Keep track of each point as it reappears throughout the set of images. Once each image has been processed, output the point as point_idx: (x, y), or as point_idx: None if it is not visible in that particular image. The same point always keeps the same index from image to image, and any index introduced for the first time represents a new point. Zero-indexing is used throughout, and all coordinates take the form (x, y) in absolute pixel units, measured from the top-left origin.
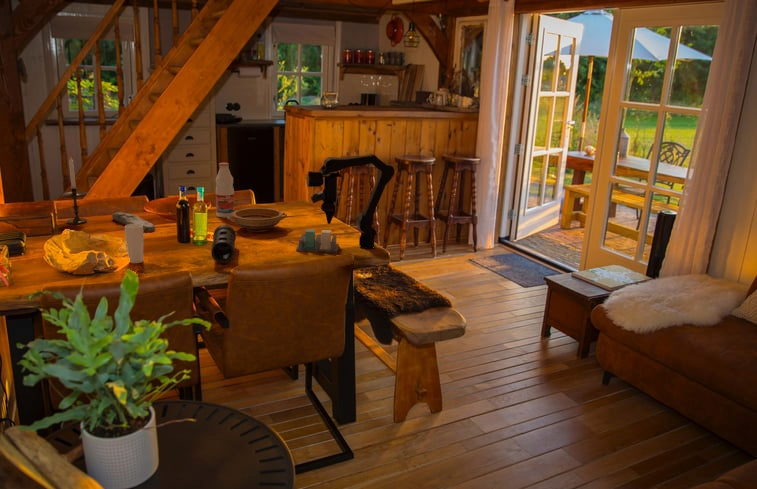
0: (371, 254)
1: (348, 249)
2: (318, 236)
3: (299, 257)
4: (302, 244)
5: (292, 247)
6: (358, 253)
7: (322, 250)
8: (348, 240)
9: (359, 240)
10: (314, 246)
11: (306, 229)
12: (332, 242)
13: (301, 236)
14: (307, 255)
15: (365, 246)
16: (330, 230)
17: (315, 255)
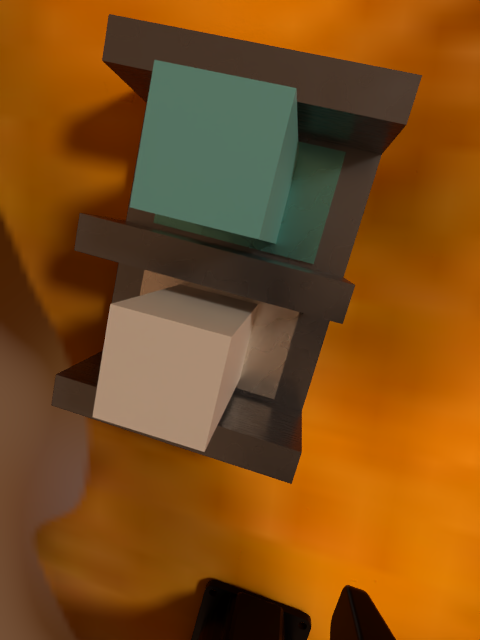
0: (76, 597)
1: (193, 492)
2: (267, 280)
3: (4, 76)
4: (132, 84)
5: (294, 13)
6: (98, 529)
7: (115, 285)
8: (448, 563)
9: (232, 632)
10: (214, 228)
11: (280, 86)
12: (57, 387)
13: (287, 55)
14: (54, 150)
15: (204, 622)
16: (200, 443)
17: (54, 217)
